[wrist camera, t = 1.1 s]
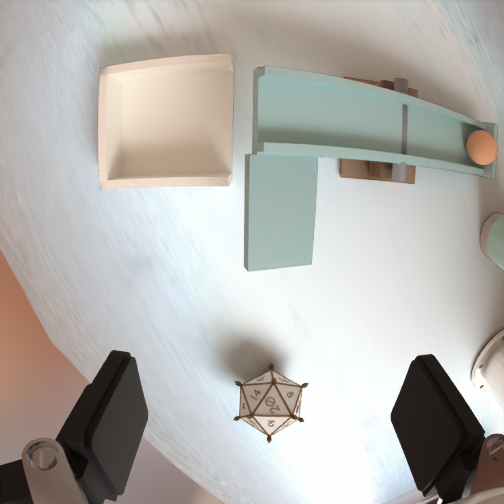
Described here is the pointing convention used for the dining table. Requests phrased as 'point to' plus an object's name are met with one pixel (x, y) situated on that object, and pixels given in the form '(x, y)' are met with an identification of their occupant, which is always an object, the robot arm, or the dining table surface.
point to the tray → (166, 122)
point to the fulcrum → (375, 168)
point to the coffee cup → (493, 239)
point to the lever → (334, 150)
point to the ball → (481, 147)
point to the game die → (270, 402)
